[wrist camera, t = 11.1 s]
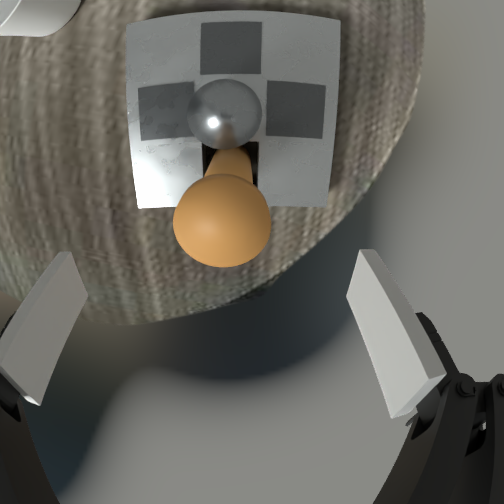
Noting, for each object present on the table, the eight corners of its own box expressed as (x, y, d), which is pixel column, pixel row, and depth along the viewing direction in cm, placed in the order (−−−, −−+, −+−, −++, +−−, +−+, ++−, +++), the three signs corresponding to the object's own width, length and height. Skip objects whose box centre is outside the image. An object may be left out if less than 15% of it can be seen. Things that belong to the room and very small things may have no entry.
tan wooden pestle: (206, 185, 30) (179, 266, 17) (204, 135, 27) (168, 181, 14) (257, 184, 30) (268, 267, 17) (258, 135, 27) (273, 180, 14)
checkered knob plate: (147, 197, 30) (109, 248, 21) (137, 29, 19) (86, 7, 10) (319, 196, 31) (350, 247, 22) (331, 26, 20) (376, -1, 11)
